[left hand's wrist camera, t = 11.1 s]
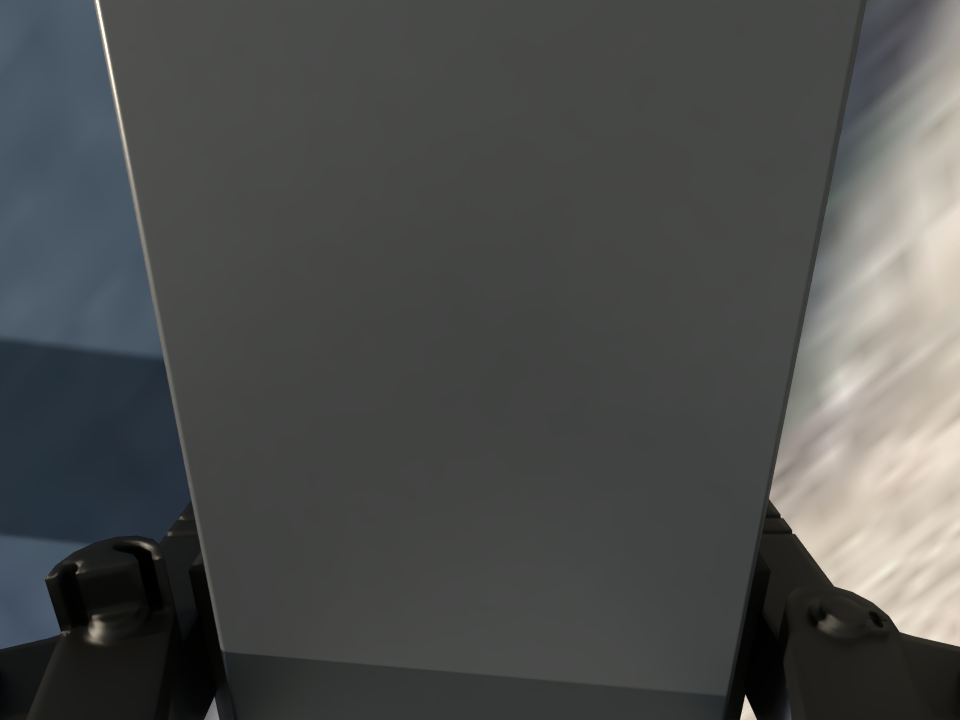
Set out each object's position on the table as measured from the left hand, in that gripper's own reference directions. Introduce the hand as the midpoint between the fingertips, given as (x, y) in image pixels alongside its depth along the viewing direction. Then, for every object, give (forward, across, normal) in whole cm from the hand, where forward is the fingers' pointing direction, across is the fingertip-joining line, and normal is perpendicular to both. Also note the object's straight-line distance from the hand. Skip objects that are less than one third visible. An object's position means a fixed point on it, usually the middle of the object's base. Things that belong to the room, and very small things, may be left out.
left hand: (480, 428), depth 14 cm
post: (0, 0, -23) cm, 23 cm away
